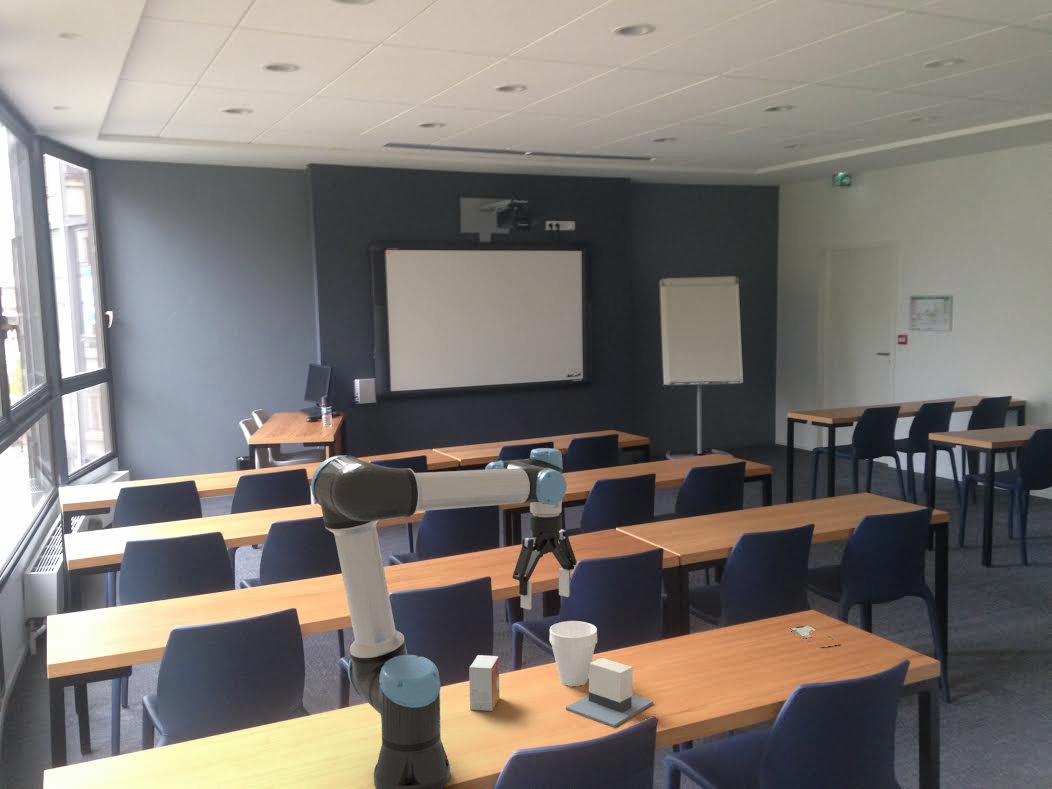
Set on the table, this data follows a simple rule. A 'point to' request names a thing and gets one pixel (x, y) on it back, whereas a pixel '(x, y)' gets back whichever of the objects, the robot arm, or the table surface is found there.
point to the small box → (484, 682)
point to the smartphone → (803, 631)
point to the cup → (573, 650)
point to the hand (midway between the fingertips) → (545, 601)
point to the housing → (610, 679)
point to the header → (608, 708)
